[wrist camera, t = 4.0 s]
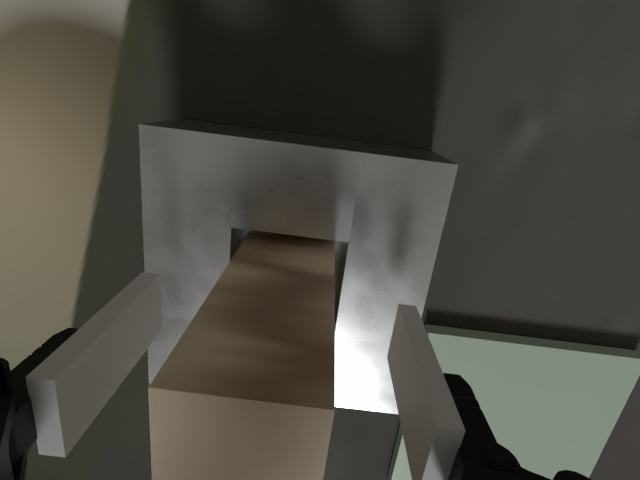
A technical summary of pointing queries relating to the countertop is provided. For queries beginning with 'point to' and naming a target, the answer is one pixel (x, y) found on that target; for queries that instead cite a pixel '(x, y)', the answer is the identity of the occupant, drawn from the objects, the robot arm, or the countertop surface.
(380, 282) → the hole block
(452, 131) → the countertop surface
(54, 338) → the robot arm
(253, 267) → the square peg
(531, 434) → the pad
